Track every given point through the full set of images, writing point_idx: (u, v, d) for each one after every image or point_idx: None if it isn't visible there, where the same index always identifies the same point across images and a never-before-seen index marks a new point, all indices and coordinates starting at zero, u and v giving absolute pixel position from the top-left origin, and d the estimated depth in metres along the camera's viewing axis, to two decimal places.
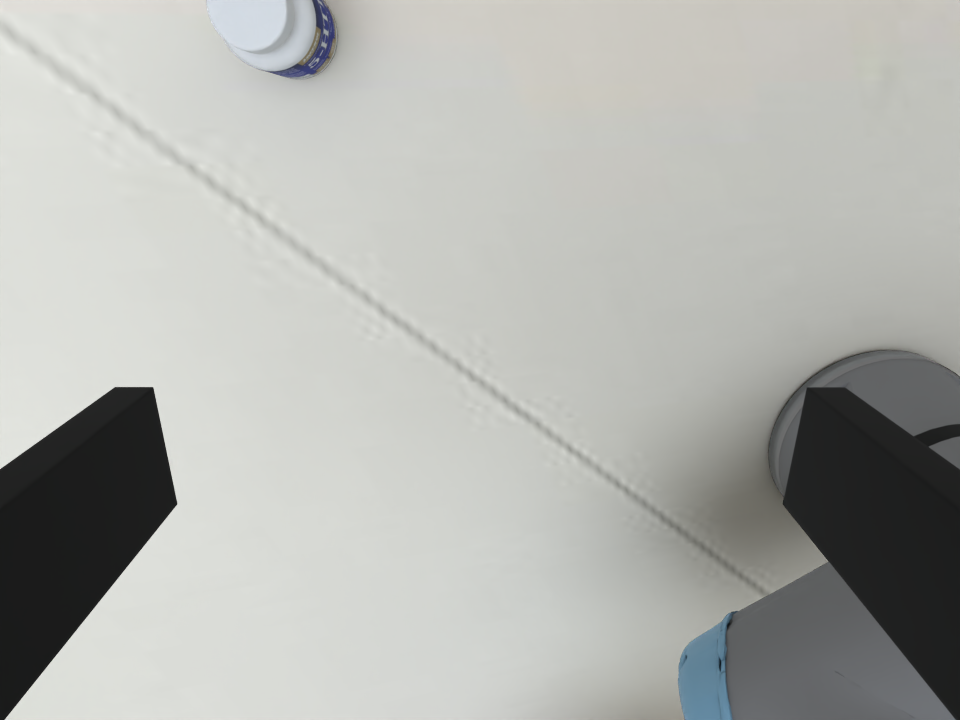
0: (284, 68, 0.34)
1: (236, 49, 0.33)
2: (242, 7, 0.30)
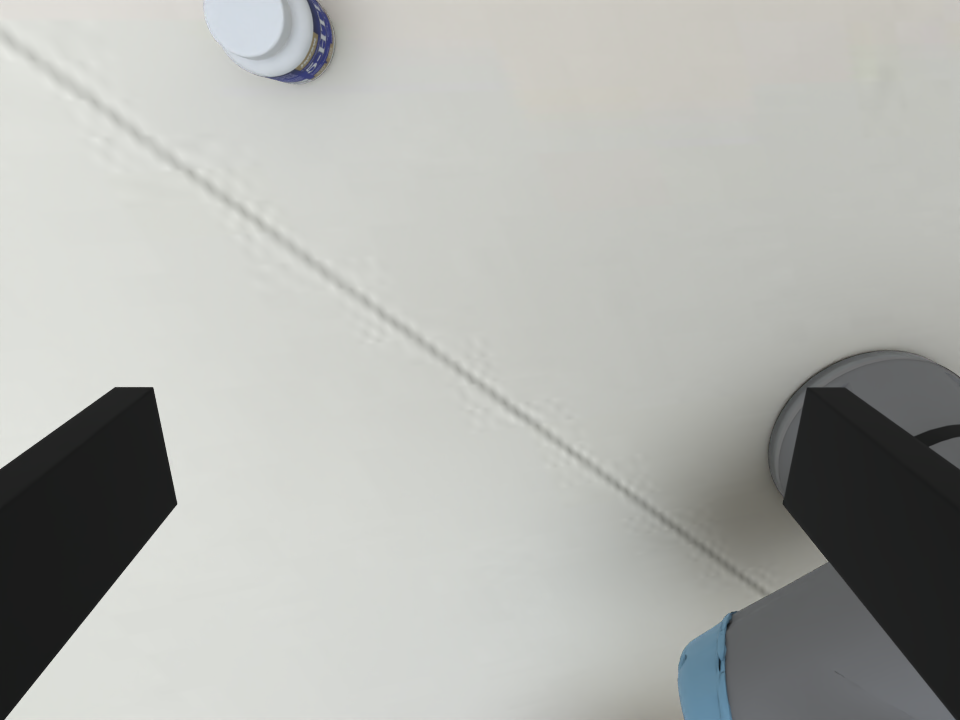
0: (282, 74, 0.34)
1: (233, 55, 0.33)
2: (239, 14, 0.30)
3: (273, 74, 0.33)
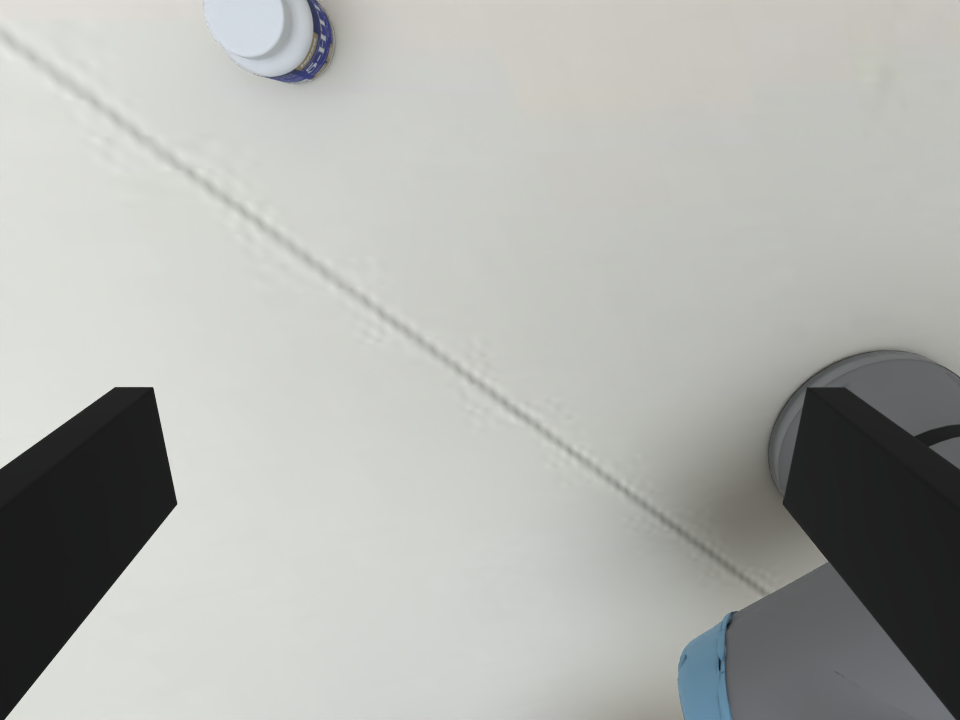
0: (282, 74, 0.34)
1: (233, 55, 0.33)
2: (239, 14, 0.30)
3: (273, 74, 0.33)
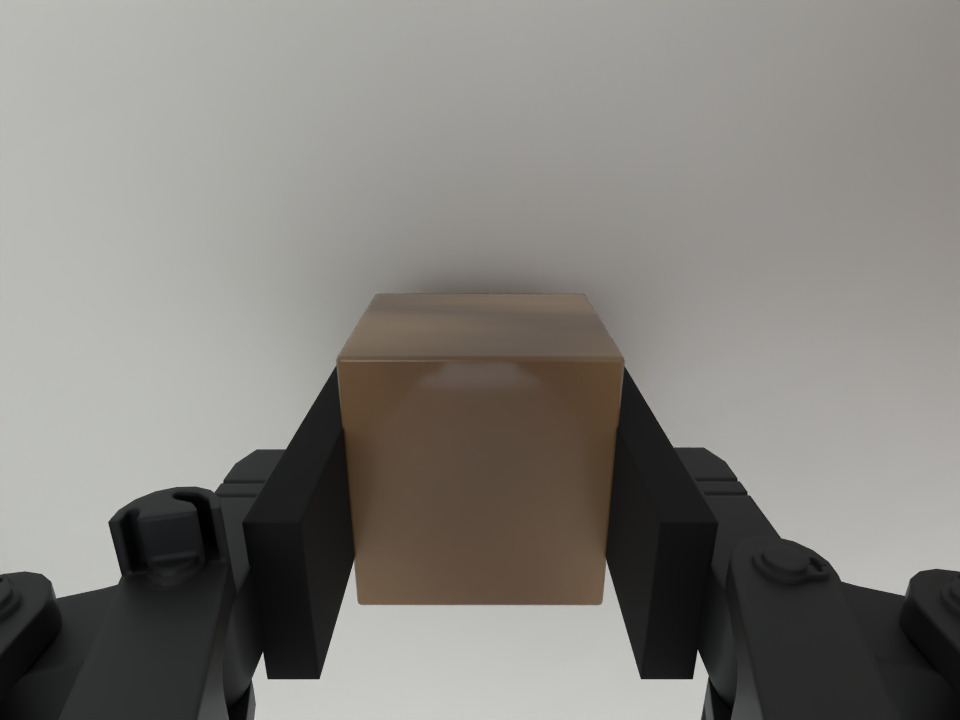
0: None
1: None
2: None
3: None
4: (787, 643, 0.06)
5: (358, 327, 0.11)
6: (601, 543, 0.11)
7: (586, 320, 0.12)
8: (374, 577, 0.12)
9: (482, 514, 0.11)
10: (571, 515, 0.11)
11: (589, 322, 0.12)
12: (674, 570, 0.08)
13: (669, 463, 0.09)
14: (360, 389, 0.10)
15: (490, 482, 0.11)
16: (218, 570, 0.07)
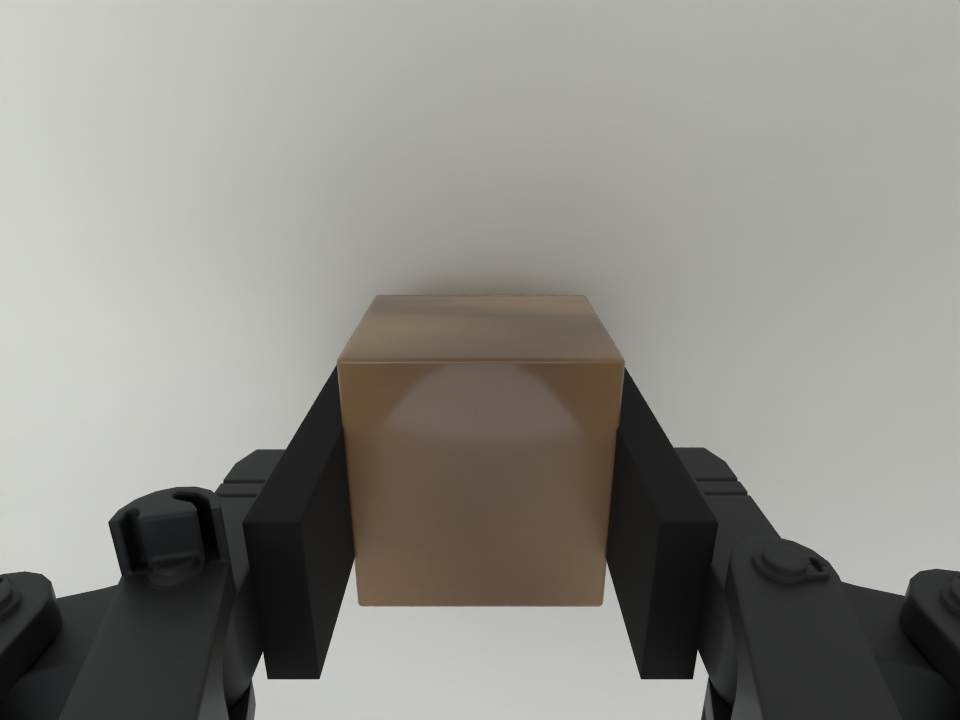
0: None
1: None
2: None
3: None
4: (787, 643, 0.06)
5: (359, 329, 0.11)
6: (601, 544, 0.11)
7: (586, 321, 0.12)
8: (375, 578, 0.12)
9: (483, 515, 0.11)
10: (572, 517, 0.11)
11: (589, 323, 0.12)
12: (673, 570, 0.08)
13: (669, 463, 0.09)
14: (361, 391, 0.10)
15: (491, 484, 0.11)
16: (218, 570, 0.07)
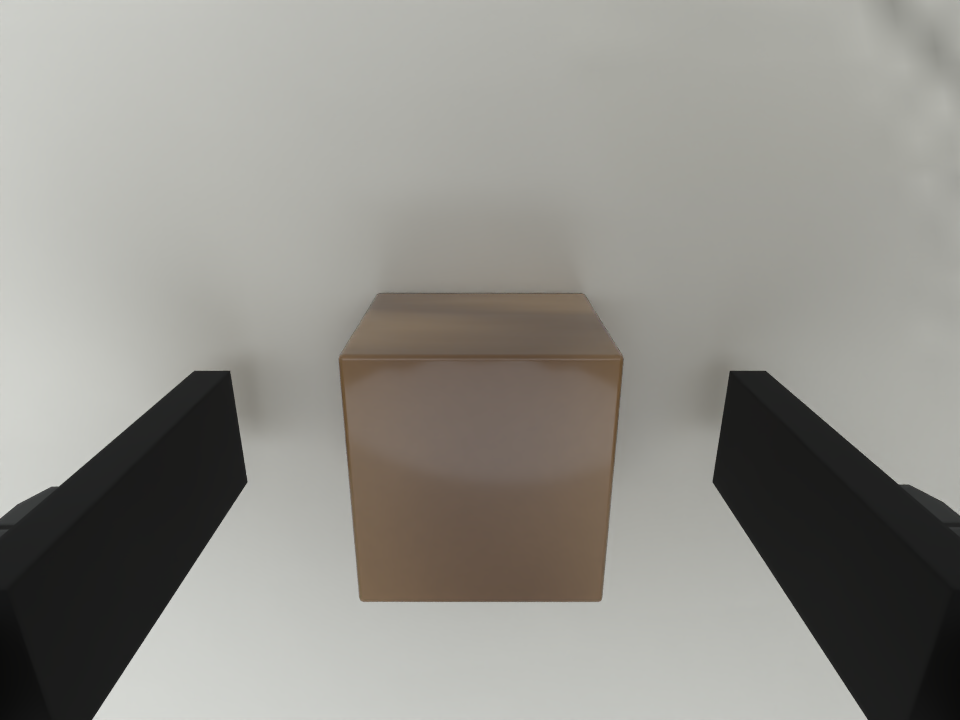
0: None
1: None
2: None
3: None
4: None
5: (360, 326, 0.12)
6: (601, 540, 0.11)
7: (586, 319, 0.12)
8: (376, 574, 0.12)
9: (483, 511, 0.11)
10: (571, 513, 0.11)
11: (589, 321, 0.12)
12: (958, 642, 0.07)
13: (913, 510, 0.08)
14: (362, 387, 0.10)
15: (491, 479, 0.11)
16: None
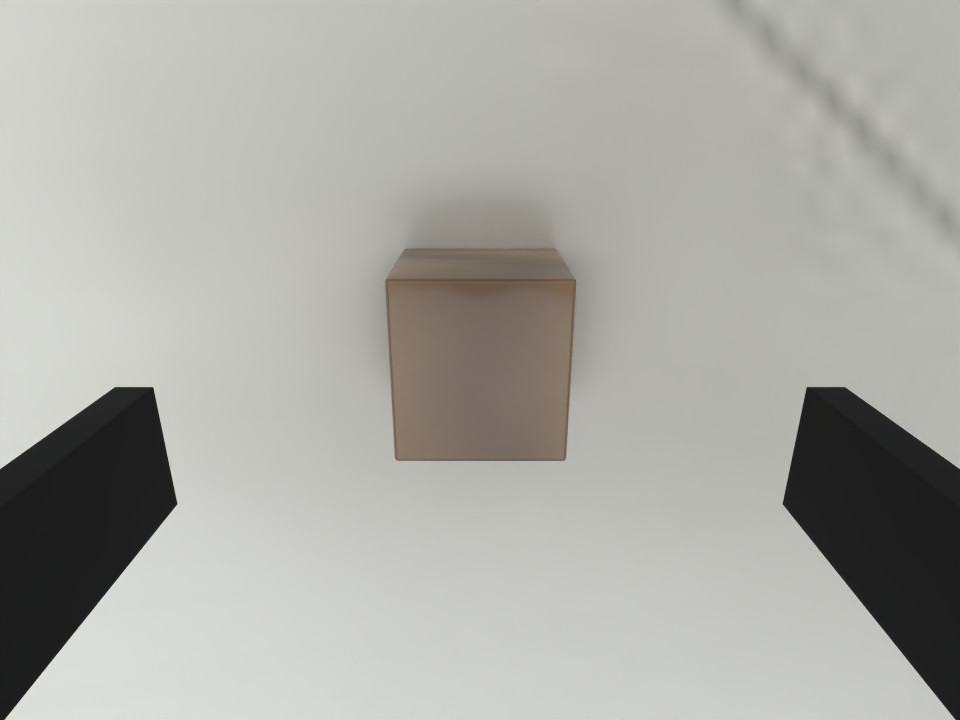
0: None
1: None
2: None
3: None
4: None
5: (396, 265, 0.17)
6: (564, 413, 0.16)
7: (554, 262, 0.17)
8: (407, 439, 0.17)
9: (482, 391, 0.16)
10: (542, 392, 0.16)
11: (556, 263, 0.17)
12: None
13: None
14: (401, 301, 0.15)
15: (487, 368, 0.16)
16: None
